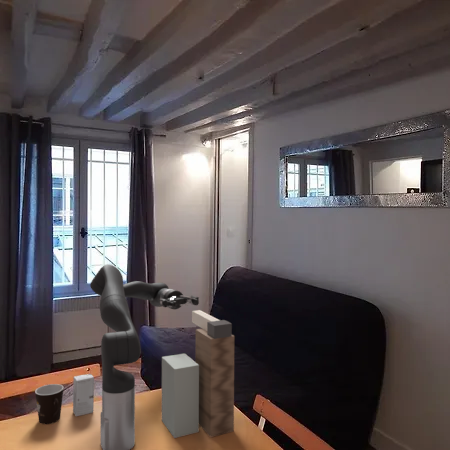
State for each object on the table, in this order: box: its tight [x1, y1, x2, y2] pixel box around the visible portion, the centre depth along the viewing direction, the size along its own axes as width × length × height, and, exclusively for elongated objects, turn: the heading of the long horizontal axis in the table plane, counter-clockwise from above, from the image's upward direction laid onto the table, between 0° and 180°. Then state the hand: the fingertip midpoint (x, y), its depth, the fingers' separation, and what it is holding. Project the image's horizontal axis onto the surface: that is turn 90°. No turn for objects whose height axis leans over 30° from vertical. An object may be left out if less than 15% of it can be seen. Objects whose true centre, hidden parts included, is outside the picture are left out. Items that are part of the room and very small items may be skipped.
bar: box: [191, 309, 233, 339], centre depth 135 cm, size 6×21×4 cm, turn 27°
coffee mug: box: [34, 383, 64, 425], centre depth 133 cm, size 12×9×10 cm
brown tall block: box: [194, 328, 235, 438], centre depth 131 cm, size 8×12×30 cm, turn 27°
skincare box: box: [72, 373, 95, 417], centre depth 140 cm, size 6×4×12 cm
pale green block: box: [161, 353, 200, 439], centre depth 131 cm, size 8×12×21 cm, turn 27°
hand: (186, 303), depth 152 cm, fingers open, 8 cm apart
